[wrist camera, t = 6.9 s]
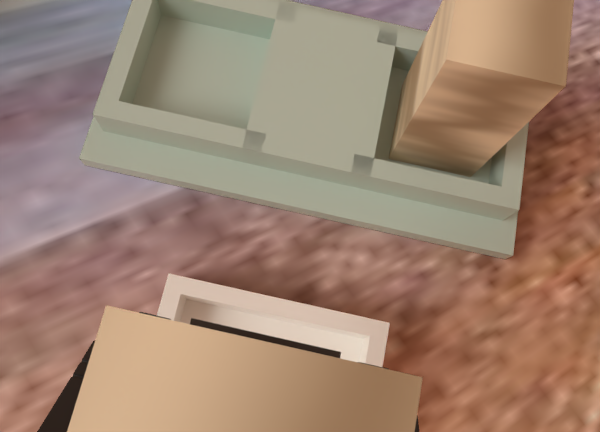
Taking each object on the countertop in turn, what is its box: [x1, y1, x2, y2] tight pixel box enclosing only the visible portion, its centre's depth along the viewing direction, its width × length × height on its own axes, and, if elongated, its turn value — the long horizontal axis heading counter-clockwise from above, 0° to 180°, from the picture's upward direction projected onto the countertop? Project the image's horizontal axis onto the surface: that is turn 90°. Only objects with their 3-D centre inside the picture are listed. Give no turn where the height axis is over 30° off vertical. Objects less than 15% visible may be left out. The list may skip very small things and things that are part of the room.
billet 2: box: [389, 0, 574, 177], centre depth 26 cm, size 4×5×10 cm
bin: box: [157, 274, 390, 367], centre depth 26 cm, size 11×11×2 cm
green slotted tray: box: [79, 0, 529, 259], centre depth 31 cm, size 23×12×3 cm, turn 78°
